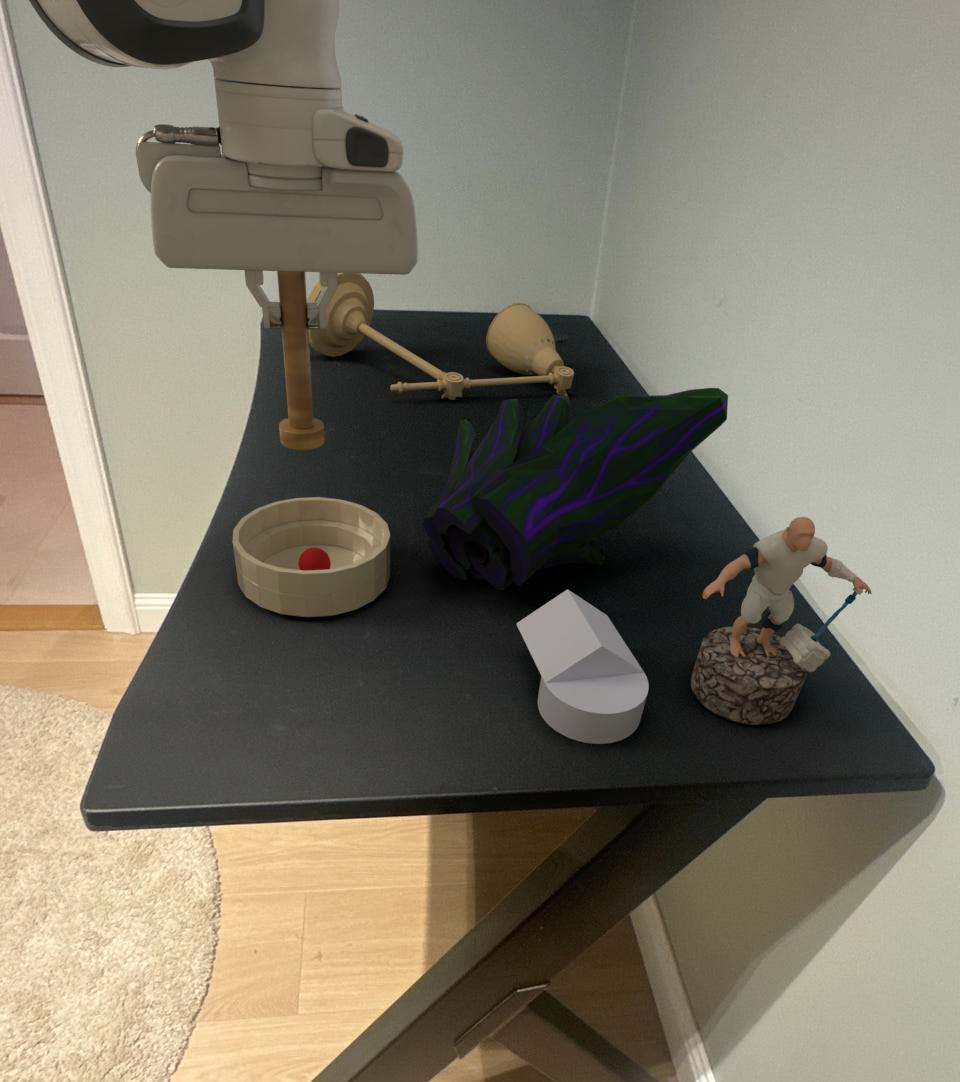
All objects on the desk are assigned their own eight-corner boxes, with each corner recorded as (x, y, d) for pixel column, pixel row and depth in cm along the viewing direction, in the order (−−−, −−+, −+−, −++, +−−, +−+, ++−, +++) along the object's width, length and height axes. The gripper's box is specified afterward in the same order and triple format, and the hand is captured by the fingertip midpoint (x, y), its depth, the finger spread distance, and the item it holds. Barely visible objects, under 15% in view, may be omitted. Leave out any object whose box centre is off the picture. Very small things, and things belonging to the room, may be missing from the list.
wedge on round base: (512, 652, 73) (556, 750, 63) (520, 592, 69) (568, 686, 59) (601, 644, 75) (657, 736, 65) (613, 585, 71) (676, 675, 61)
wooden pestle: (280, 450, 69) (264, 260, 60) (279, 433, 72) (264, 249, 63) (326, 449, 70) (317, 262, 61) (323, 432, 73) (314, 251, 64)
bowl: (237, 627, 73) (230, 577, 69) (240, 545, 84) (234, 499, 81) (398, 616, 76) (399, 568, 73) (379, 539, 88) (379, 495, 85)
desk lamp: (289, 280, 124) (471, 393, 109) (441, 233, 143) (614, 323, 127) (295, 365, 135) (460, 478, 120) (435, 311, 154) (593, 403, 139)
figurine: (682, 731, 66) (741, 547, 55) (648, 667, 73) (695, 492, 62) (837, 722, 68) (923, 544, 58) (791, 660, 75) (859, 491, 64)
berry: (300, 586, 78) (298, 558, 76) (298, 569, 80) (296, 542, 79) (332, 584, 79) (331, 557, 77) (330, 567, 81) (328, 541, 79)
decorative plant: (433, 627, 91) (584, 492, 104) (604, 662, 71) (762, 490, 85) (348, 471, 81) (528, 344, 94) (520, 461, 61) (714, 303, 75)
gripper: (124, 126, 52) (160, 337, 61) (424, 145, 57) (419, 339, 65) (136, 118, 57) (167, 314, 65) (411, 136, 62) (408, 318, 70)
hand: (295, 327), depth 65 cm, fingers closed on wooden pestle, 2 cm apart
